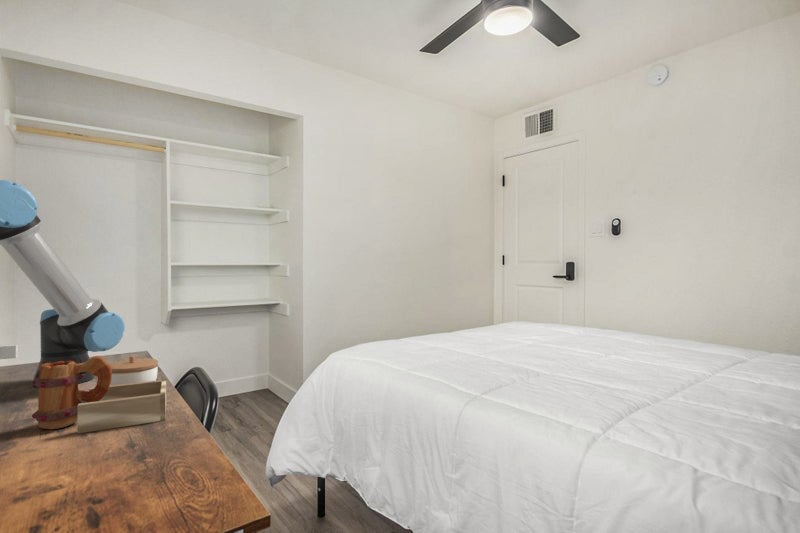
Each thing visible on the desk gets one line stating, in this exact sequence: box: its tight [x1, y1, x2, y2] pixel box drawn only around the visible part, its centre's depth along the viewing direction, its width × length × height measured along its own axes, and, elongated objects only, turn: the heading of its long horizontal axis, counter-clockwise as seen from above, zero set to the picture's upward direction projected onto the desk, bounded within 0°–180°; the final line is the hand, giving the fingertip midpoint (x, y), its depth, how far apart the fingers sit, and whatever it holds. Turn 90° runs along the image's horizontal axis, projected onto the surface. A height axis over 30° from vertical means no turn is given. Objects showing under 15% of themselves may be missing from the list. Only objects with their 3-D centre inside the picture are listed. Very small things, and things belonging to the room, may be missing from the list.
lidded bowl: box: [109, 355, 159, 386], centre depth 117 cm, size 13×13×11 cm
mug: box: [31, 355, 112, 430], centre depth 96 cm, size 15×8×15 cm, turn 117°
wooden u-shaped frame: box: [77, 379, 167, 434], centre depth 101 cm, size 15×16×6 cm
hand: (16, 351), depth 91 cm, fingers closed
